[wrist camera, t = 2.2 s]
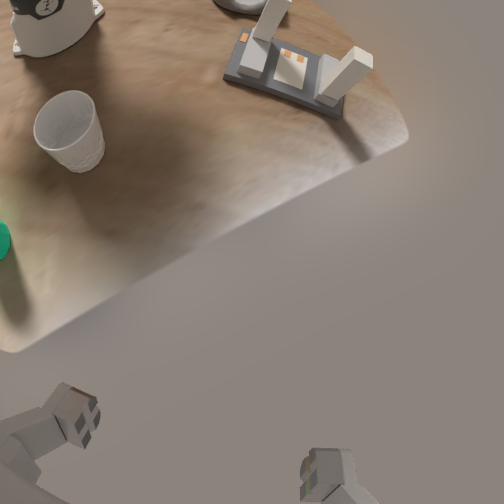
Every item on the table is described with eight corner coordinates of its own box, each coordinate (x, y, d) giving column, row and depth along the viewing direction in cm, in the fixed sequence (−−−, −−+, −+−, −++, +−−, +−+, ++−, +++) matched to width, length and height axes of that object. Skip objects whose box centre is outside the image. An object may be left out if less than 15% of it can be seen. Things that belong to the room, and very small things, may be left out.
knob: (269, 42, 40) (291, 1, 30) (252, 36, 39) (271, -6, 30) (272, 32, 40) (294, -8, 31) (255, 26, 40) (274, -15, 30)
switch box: (336, 119, 46) (347, 110, 43) (222, 78, 41) (227, 66, 38) (341, 71, 48) (350, 62, 44) (240, 33, 43) (245, 20, 39)
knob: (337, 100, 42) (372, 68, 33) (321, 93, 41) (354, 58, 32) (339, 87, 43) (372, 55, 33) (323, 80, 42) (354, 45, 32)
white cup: (75, 188, 35) (49, 165, 25) (50, 150, 34) (24, 120, 24) (119, 152, 37) (107, 119, 27) (92, 116, 36) (77, 79, 26)
